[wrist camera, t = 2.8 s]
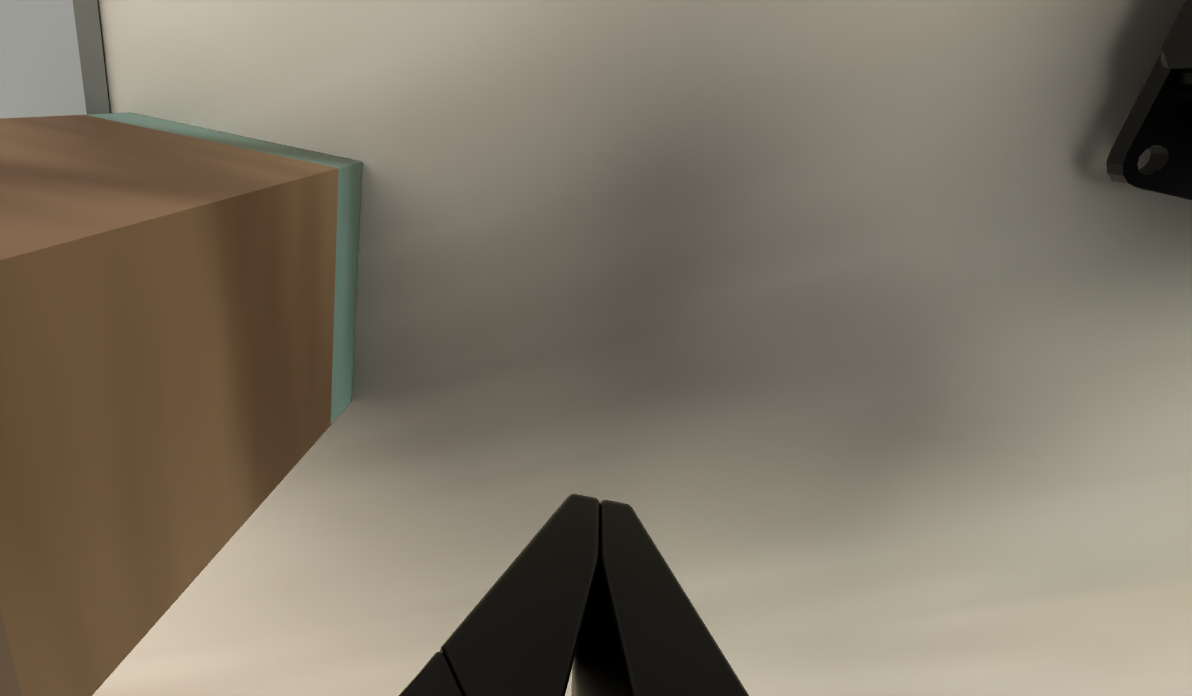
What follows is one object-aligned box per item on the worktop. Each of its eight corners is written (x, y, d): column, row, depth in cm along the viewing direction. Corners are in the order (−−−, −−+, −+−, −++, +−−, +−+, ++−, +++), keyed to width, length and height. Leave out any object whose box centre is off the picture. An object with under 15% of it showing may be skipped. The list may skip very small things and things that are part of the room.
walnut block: (363, 161, 13) (-86, 283, 5) (351, 401, 16) (37, 756, 7) (130, 112, 13) (-739, 153, 5) (154, 362, 15) (-398, 681, 7)
